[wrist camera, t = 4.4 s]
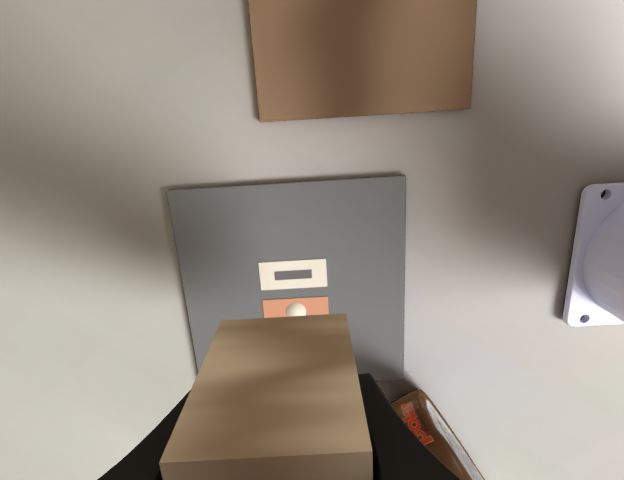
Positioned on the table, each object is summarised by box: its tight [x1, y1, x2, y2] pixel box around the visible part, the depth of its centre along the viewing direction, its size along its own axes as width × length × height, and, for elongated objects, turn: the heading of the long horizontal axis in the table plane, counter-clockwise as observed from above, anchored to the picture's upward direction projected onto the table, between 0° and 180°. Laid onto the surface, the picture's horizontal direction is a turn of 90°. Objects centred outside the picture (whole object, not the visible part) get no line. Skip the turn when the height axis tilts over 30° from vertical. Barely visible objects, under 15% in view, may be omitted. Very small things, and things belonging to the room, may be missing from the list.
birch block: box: [159, 313, 373, 480], centre depth 12 cm, size 4×4×6 cm
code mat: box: [167, 175, 406, 381], centre depth 21 cm, size 12×12×1 cm
